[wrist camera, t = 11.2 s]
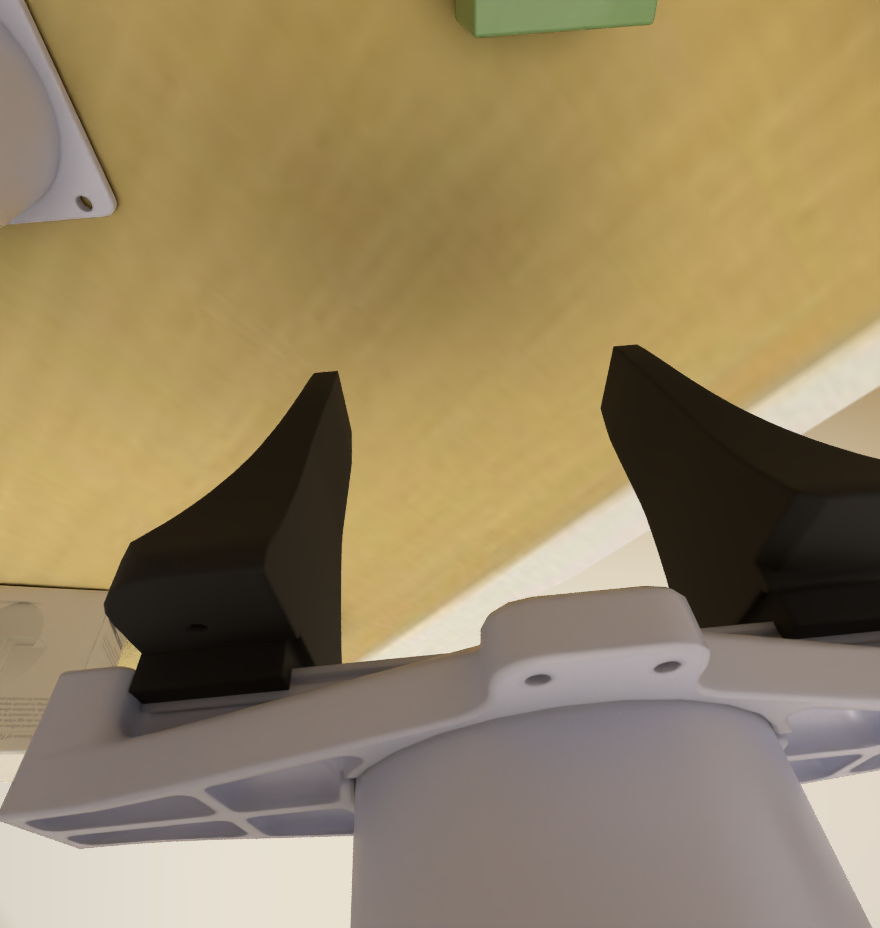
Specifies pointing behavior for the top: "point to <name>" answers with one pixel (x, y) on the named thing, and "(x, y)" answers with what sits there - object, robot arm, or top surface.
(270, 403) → the top surface
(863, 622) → the robot arm
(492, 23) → the block
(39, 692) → the cosmetics box
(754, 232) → the top surface
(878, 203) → the top surface
